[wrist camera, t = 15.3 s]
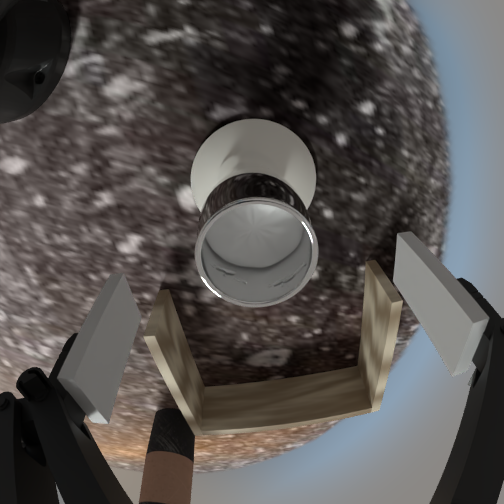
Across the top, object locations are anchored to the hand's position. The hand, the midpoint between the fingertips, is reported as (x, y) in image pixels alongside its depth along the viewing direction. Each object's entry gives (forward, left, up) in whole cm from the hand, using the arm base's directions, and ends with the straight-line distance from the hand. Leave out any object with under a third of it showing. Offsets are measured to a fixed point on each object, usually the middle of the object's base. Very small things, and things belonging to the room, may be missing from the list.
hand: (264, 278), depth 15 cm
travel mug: (+38, -19, -18) cm, 46 cm away
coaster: (0, 0, -18) cm, 18 cm away
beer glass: (0, 0, -18) cm, 18 cm away
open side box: (+20, 0, -18) cm, 27 cm away
